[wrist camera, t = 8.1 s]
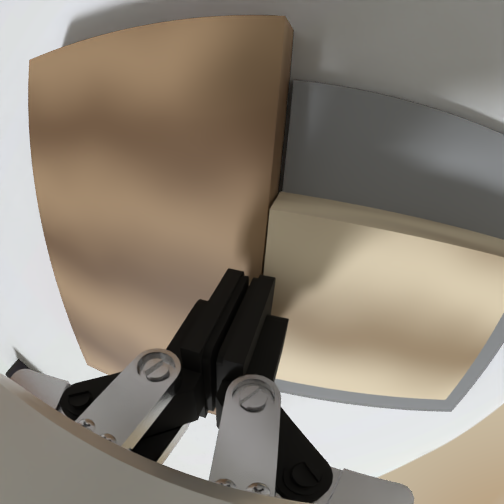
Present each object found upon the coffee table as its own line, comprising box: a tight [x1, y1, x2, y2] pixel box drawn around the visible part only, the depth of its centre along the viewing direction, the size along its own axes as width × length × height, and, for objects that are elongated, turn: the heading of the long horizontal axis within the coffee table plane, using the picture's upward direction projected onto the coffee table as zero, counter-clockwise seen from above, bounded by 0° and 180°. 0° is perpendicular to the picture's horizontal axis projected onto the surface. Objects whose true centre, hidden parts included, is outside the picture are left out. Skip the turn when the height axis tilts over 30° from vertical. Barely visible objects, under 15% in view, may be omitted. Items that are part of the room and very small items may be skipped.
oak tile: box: [263, 192, 504, 400], centre depth 11 cm, size 8×10×2 cm
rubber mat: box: [274, 80, 504, 412], centre depth 12 cm, size 16×13×1 cm
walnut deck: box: [28, 15, 294, 415], centre depth 14 cm, size 20×12×2 cm, turn 176°
